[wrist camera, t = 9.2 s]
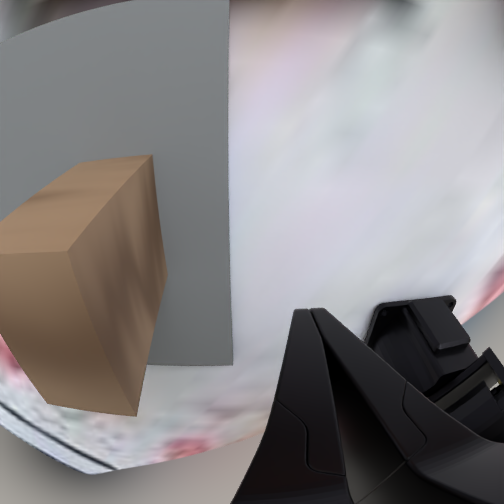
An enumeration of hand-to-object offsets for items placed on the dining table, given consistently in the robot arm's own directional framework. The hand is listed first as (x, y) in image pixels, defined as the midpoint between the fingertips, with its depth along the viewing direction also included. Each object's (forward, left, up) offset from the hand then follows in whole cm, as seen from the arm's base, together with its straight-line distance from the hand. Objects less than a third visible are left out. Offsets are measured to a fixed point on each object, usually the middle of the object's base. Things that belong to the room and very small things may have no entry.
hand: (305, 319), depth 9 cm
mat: (0, +10, -7) cm, 12 cm away
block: (0, +7, -7) cm, 10 cm away
